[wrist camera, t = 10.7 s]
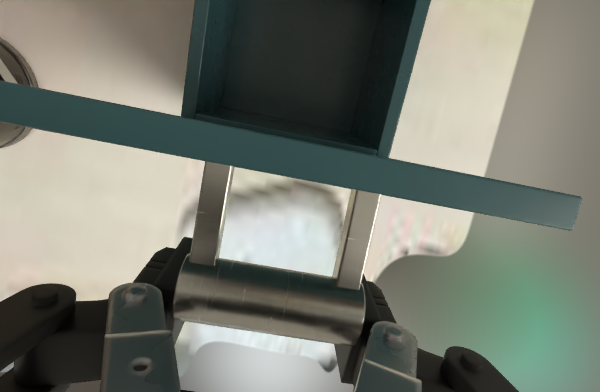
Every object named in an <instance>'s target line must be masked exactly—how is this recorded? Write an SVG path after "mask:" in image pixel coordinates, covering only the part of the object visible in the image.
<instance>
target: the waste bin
mask: <svg viewBox="0 0 600 392" xmlns="http://www.w3.org/2000/svg"><path fill="white" fill-rule="evenodd" d="M430 2H431V0H195V4H194V12H193V20H192V29H191V37H190V45H189V54H188V62H187V70H186V79H185V87H184V95H183V104H182V112H181V117H185V118H190V119H195V120H200V121H205V122H210V123H215V124H220V125H225V126H230V127H235V128H240V129H245V130H250V131H255V132H260V133H265V134H270V135H275V136H280V137H285V138H290V139H295V140H300V141H305V142H310V143H315V144H320V145H325V146H330V147H335V148H340V149H345V150H350V151H355V152H360V153H365V154H370V155H375V156H380V157H385V158H389V155H390V151H391V147H392V143H393V140H394V136H395V132H396V129H397V125H398V121H399V117H400V114H401V110H402V106H403V102H404V99H405V95H406V91H407V88H408V84H409V80H410V76H411V73H412V69H413V65H414V61H415V58H416V54H417V50H418V46H419V43H420V39H421V35H422V32H423V28H424V24H425V20H426V17H427V13H428V9H429V5H430Z"/></svg>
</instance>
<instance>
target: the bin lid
mask: <svg viewBox="0 0 600 392" xmlns="http://www.w3.org/2000/svg"><path fill="white" fill-rule="evenodd" d="M0 122H3V123H8V124H13V125H18V126H24V127H29V128H34V129H39V130H45V131H50V132H55V133H60V134H66V135H71V136H76V137H81V138H87V139H92V140H97V141H102V142H108V143H113V144H118V145H123V146H129V147H134V148H139V149H144V150H150V151H155V152H160V153H165V154H171V155H176V156H181V157H186V158H192V159H197V160H202V161H205V166H204V172H203V178H202V184H201V191H200V197H199V203H198V209H197V215H196V221H195V227H194V234H193V240H192V246H191V252H190V253H189V254H187V256H186V257H185V259H184V261H183V263H182V266H181V269H180V272H179V275H178V278H177V282H176V286H175V291H174V297H173V304H172V316H173V318H174V319H175V320H181V321H187V322H194V323H201V324H207V325H214V326H220V327H227V328H234V329H240V330H247V331H253V332H260V333H267V334H273V335H280V336H286V337H293V338H300V339H306V340H313V341H319V342H326V343H333V344H339V345H346V346H354V345H356V344H357V342H358V340H359V338H360V336H361V333H362V329H363V325H364V319H365V308H366V300H365V291H364V287H363V285H362V283H361V281H362V277H363V273H364V268H365V264H366V260H367V255H368V251H369V247H370V242H371V238H372V233H373V229H374V225H375V220H376V216H377V212H378V207H379V203H380V199H381V195H386V196H391V197H396V198H402V199H407V200H412V201H417V202H423V203H428V204H433V205H438V206H443V207H449V208H454V209H459V210H464V211H470V212H475V213H480V214H485V215H491V216H496V217H502V218H507V219H512V220H517V221H523V222H527V223H533V224H538V225H543V226H548V227H554V228H559V229H564V230H573V227H574V224H575V221H576V218H577V214H578V211H579V208H580V204H581V201H582V198H581V197H580V196H575V195H570V194H565V193H560V192H554V191H550V190H545V189H540V188H535V187H530V186H525V185H520V184H515V183H510V182H505V181H500V180H495V179H490V178H485V177H480V176H475V175H470V174H465V173H460V172H455V171H450V170H445V169H440V168H435V167H430V166H425V165H420V164H415V163H410V162H405V161H400V160H395V159H390V158H385V157H380V156H375V155H370V154H365V153H360V152H355V151H350V150H345V149H340V148H335V147H330V146H325V145H320V144H315V143H310V142H305V141H300V140H295V139H290V138H285V137H280V136H275V135H270V134H265V133H260V132H255V131H250V130H245V129H240V128H235V127H230V126H225V125H220V124H215V123H210V122H205V121H200V120H195V119H190V118H185V117H180V116H175V115H170V114H165V113H160V112H155V111H150V110H145V109H140V108H135V107H130V106H125V105H120V104H115V103H110V102H105V101H100V100H95V99H90V98H85V97H80V96H75V95H70V94H65V93H60V92H55V91H50V90H46V89H41V88H36V87H31V86H26V85H21V84H16V83H11V82H6V81H1V80H0ZM234 167H239V168H244V169H249V170H255V171H260V172H265V173H270V174H276V175H281V176H286V177H291V178H297V179H302V180H307V181H312V182H318V183H323V184H328V185H333V186H339V187H344V188H349V189H351V193H350V198H349V203H348V207H347V212H346V216H345V221H344V225H343V230H342V235H341V239H340V244H339V248H338V253H337V258H336V262H335V267H334V271H333V276H332V277H329V276H323V275H317V274H311V273H305V272H299V271H293V270H287V269H281V268H275V267H269V266H263V265H257V264H251V263H246V262H240V261H234V260H228V259H222V258H219V253H220V247H221V242H222V236H223V230H224V224H225V219H226V213H227V207H228V201H229V196H230V190H231V184H232V178H233V173H234Z"/></svg>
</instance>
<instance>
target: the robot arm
mask: <svg viewBox="0 0 600 392" xmlns="http://www.w3.org/2000/svg"><path fill="white" fill-rule="evenodd" d="M0 80H1V81H6V82H11V83H16V84H21V85H26V86H31V87H36V88H38V84H37V81H36V78H35V76H34V74H33V72H32V70H31V68H30V67H29V65H28V63H27V62H26V61H25V59H24V58H23V57H22V56H21V55H20V54H19V53H18V52H17V51H16V50H15V49H14V48H13V47H12V46H11V45H9V44H8V43H7V42H5V41H4V40H2V39H0ZM31 130H32V128H29V127H24V126H18V125H13V124H8V123H3V122H0V148H4V147H7V146H10V145H13V144H15V143H17V142H19V141H20V140H22V139H23V138H24V137H26V136H27V135H28V134H29V132H30V131H31ZM192 240H193V238H188V237H184V238H183V239H182V241H181V242H180V244H179V245H178V247H177V248H176V249H174V248H168V247H166V248H164V249H162V250H160V251H158V252H156V253H155V254H154V255H153V257H152V258H151V259H150V261H149V262H148V263H147V265H146V267H144V269H143V270H142V271H141V272H140V274H139V275H138V276H137V278H136V279H135V280H134V282H133V283H127V284H123V285H120V286H118V287H116V288H115V289H113V290H112V291H111V292H110V294H109V299H106V300H98V301H76V292H75V290H74V289H72V288H71V287H69V286H66V285H62V284H40V285H35V286H31V287H29V288H26V289H24V290H22V291H20V292H18V293H16V294H14V295H12V296H11V297H9V298H7V299H5V300H3V301H1V302H0V371H1V370H3V369H4V368H5V367H7V366H8V365H9V364H11V363H12V362H14V367H13V368H12V369H11V370H9V371H8V372H6V373H5V374H4V375H2V376H1V377H0V392H65V391H66V390H67V389H68V388H69V386H70V384H71V383H77V382H87V381H96V380H101V384H100V392H193V391H186V390H181V389H180V383H179V375H178V368H177V362H176V355H175V348H174V345H175V343H176V340H177V338H178V336H179V333H180V331H181V329H182V326H183V324H184V322H185V321H181V320H175V319H174V318H173V316H172V304H173V297H174V291H175V286H176V282H177V278H178V275H179V272H180V269H181V266H182V263H183V261H184V259H185V257H186V256H187V254H189V253H190V252H191V246H192ZM361 283H362V285H363V287H364V291H365V300H366V308H365V319H364V325H363V329H362V333H361V336H360V338H359V340H358V342H357V344H356V345H354V346H346V345H339V344H334V345H335V351H336V356H337V361H338V367H339V372H340V377H341V382H342V383H348V384H353V385H354V390H353V392H519V391H518V390H516V388H515V387H514V386H513V385H512V384H511V383H510V382H509V381H508V380H507V379H506V378H505V377H504V376H503V375H502V374H501V373H500V372H499V371H498V370H497V369H496V368H495V367H494V366H493V365H492V364H491V363H490V362H489V361H488V360H486V359H485V358H484V357H483V356H481V355H480V354H478V353H476V352H474V351H472V350H470V349H467V348H464V347H458V346H453V347H449V348H448V349H447V350H446V352H445V355H444V358H443V357H440V356H437V355H434V354H432V353H429V352H426V351H424V350H422V349H419V348H418V346H417V345H418V343H417V339H416V337H415V336H414V335H413V334H412V333H411V332H410V331H409V330H408V329H406V328H404V327H403V326H401V325H398V324H397V323H396V321H395V319H394V317H393V315H392V313H391V310H390V308H389V307H388V304H387V302H386V300H385V297H384V295H383V293H382V291H381V289H379V288H378V287H377V286H376V285H375V284H374V283H373V282H369V281H366V279H365V276H364V274H363V277H362V281H361Z"/></svg>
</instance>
